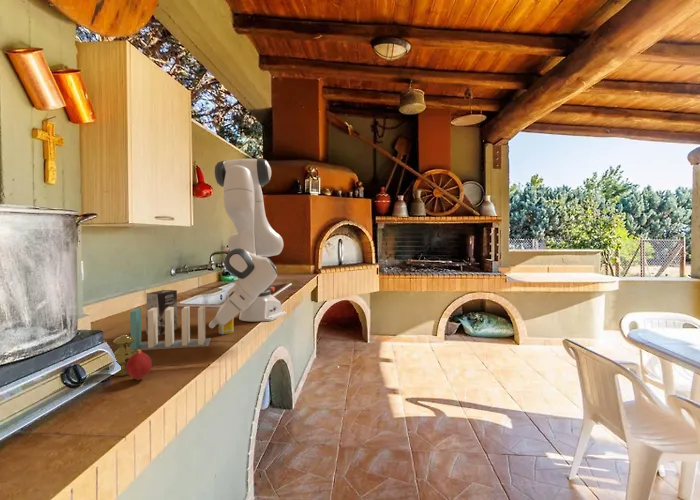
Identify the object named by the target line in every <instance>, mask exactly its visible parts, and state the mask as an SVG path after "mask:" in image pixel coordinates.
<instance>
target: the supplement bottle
mask: <svg viewBox="0 0 700 500" xmlns="http://www.w3.org/2000/svg"><path fill="white" fill-rule="evenodd" d="M234 318H235V317H233V318H232V319H231V320H230V321H229V322H227V323H226V324H225V325H223V326H221V325H220V324H219V323H218V334H219V335H230V334H233V333H234V332H235V331H234V325H235V324H234V321H235V319H234Z"/></svg>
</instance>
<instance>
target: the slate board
mask: <svg viewBox="0 0 700 500" xmlns="http://www.w3.org/2000/svg"><path fill="white" fill-rule="evenodd" d="M211 340H212V337H209V338H208V337H207V338H206V337H205V342H204V344H203V345H198V338H190V342H189V343H188V345H187V346H182V339H174V343H173V344H172V345H171V346H170V347H165V340H158V343H157V344H156V345H155V347H154V348H148V341H141V345H140V346H138V347H137V348H136V349H134V351H137V350H141V351H147V350H148V351H149V350H151V351H152V350H167V349H181V348H198V347H199V348H200V347H208V346H209V345H210V342H211ZM130 347H131V344H130Z"/></svg>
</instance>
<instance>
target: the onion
mask: <svg viewBox="0 0 700 500" xmlns="http://www.w3.org/2000/svg"><path fill="white" fill-rule="evenodd" d="M152 362H153V361H152V359H151V357H150V356H149V355H148V354H147V353H145V352H143V350H137V351H136V353H135V354H134V355H132V356H131V357H130V358H129V360H128V361H127V364H126V372H127V373H128V375H127V376H130V377H131V378H133V379H135V380H136V381H141V380H142V379H144V378H145V377H146V376H147V375H148V374H150V372H151V370H152V366H153V363H152Z"/></svg>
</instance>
